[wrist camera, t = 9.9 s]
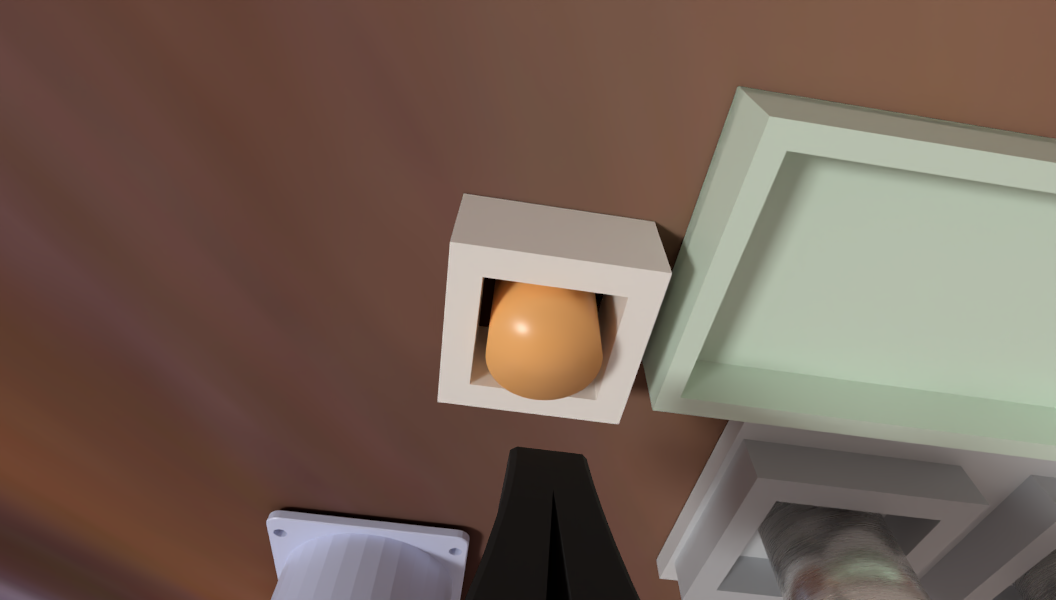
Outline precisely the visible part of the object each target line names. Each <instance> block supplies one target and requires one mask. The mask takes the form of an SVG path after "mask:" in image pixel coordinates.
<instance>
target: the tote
mask: <svg viewBox="0 0 1056 600" xmlns="http://www.w3.org/2000/svg"><path fill="white" fill-rule="evenodd" d="M642 362H643V367H644V371H645V376H646V381H647V386H648V390H649V395H650V400H651V405H652V409H653V410H655V411H662V412H670V413H678V414H686V415H694V416H702V417H710V418H718V419H726V420H734V421H742V422H750V423H757V424H765V425H773V426H781V427H789V428H797V429H805V430H813V431H821V432H829V433H837V434H844V435H852V436H860V437H868V438H876V439H884V440H892V441H900V442H908V443H916V444H924V445H932V446H939V447H947V448H955V449H963V450H971V451H979V452H987V453H995V454H1003V455H1011V456H1019V457H1026V458H1034V459H1042V460H1050V461H1056V139H1054V138H1048V137H1042V136H1036V135H1030V134H1024V133H1018V132H1012V131H1006V130H1000V129H994V128H988V127H982V126H976V125H970V124H964V123H958V122H952V121H946V120H940V119H934V118H928V117H922V116H916V115H910V114H904V113H897V112H891V111H885V110H879V109H873V108H867V107H861V106H855V105H849V104H843V103H837V102H831V101H825V100H819V99H813V98H807V97H801V96H795V95H789V94H783V93H777V92H771V91H765V90H759V89H753V88H747V87H741V86H738V87H737V90H736V93H735V96H734V99H733V101H732V104H731V107H730V110H729V113H728V116H727V118H726V121H725V124H724V127H723V130H722V132H721V135H720V138H719V141H718V144H717V147H716V149H715V152H714V155H713V158H712V161H711V164H710V166H709V169H708V172H707V175H706V178H705V180H704V183H703V186H702V189H701V192H700V195H699V197H698V200H697V203H696V206H695V209H694V211H693V214H692V217H691V220H690V223H689V226H688V228H687V231H686V234H685V237H684V240H683V243H682V245H681V248H680V251H679V254H678V257H677V259H676V262H675V265H674V268H673V271H672V275H671V278H670V281H669V284H668V287H667V290H666V292H665V295H664V298H663V301H662V304H661V306H660V309H659V312H658V315H657V318H656V320H655V323H654V326H653V329H652V332H651V335H650V337H649V340H648V343H647V346H646V349H645V351H644V354H643V357H642Z"/></svg>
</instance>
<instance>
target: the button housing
mask: <svg viewBox="0 0 1056 600" xmlns="http://www.w3.org/2000/svg"><path fill="white" fill-rule="evenodd" d="M671 275H672V271H671V268H670V265H669V263H668V260H667V257H666V254H665V251H664V248H663V245H662V242H661V239H660V236H659V233H658V230H657V227H656V224H655V222H653V221H646V220H639V219H632V218H626V217H619V216H612V215H605V214H599V213H592V212H585V211H578V210H572V209H565V208H558V207H552V206H545V205H538V204H531V203H525V202H518V201H511V200H504V199H498V198H491V197H484V196H478V195H471V194H463V198H462V201H461V205H460V208H459V212H458V216H457V219H456V223H455V226H454V230H453V233H452V237H451V240H450V249H449V262H448V274H447V287H446V300H445V313H444V325H443V338H442V351H441V363H440V376H439V389H438V402H443V403H451V404H459V405H467V406H475V407H483V408H491V409H499V410H507V411H515V412H524V413H532V414H540V415H548V416H556V417H564V418H572V419H580V420H588V421H596V422H604V423H612V424H619V422H620V419H621V416H622V413H623V411H624V408H625V405H626V402H627V399H628V396H629V394H630V391H631V388H632V385H633V382H634V380H635V377H636V374H637V371H638V368H639V365H640V363H641V360H642V357H643V354H644V351H645V349H646V346H647V343H648V340H649V337H650V335H651V332H652V329H653V326H654V323H655V320H656V318H657V315H658V312H659V309H660V306H661V304H662V301H663V298H664V295H665V292H666V290H667V287H668V284H669V281H670V278H671ZM485 277H486V278H493V279H500V280H507V281H515V282H522V283H529V284H536V285H543V286H551V287H558V288H565V289H572V290H579V291H586V292H594V293H601V294H603V297H602V301H601V304H600V308H599V312H598V320H599V328H600V336H601V344H602V352H603V361H602V365H601V368H600V371H599V373H598V374H597V376H596V378H595V379H594V380H593V381H592V382H591V383H590V384H589V385H588V386H587V387H586V388H584V389H583V390H581V391H579V392H578V393H576V394H573V395H571V396H568V397H565V398H561V399H556V400H534V399H528V398H524V397H521V396H518V395H516V394H513V393H511V392H509V391H508V390H506V389H505V388H503V387H502V386H501V385H500V384H498V383H497V381H496V380H495V379H494V378H493V377H492V375H491V374H490V372H489V369H488V367H487V364H486V346H487V338H488V331H489V327H484V326H479V321H480V313H481V305H482V297H483V289H484V281H485Z"/></svg>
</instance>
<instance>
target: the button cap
mask: <svg viewBox="0 0 1056 600" xmlns="http://www.w3.org/2000/svg"><path fill="white" fill-rule="evenodd" d="M602 361H603V352H602V344H601V336H600V328H599V320H598V312H597V304H596V297H595V293H594V292H586V291H579V290H572V289H565V288H558V287H551V286H543V285H536V284H529V283H522V282H515V281H507V280H500V279H496V280H495V286H494V294H493V301H492V309H491V316H490V324H489V331H488V338H487V346H486V364H487V367H488V369H489V372H490V374H491V375H492V377H493V378H494V379H495V380H496V381H497V383H498V384H500V385H501V386H502V387H503V388H505V389H506V390H508V391H509V392H511V393H513V394H516V395H518V396H521V397H524V398H528V399H534V400H556V399H561V398H565V397H568V396H571V395H573V394H576V393H578V392H579V391H581V390H583V389H584V388H586V387H587V386H588V385H589V384H590V383H591V382H592V381H593V380H594V379H595V378H596V376H597V374H598V373H599V371H600V368H601V365H602Z"/></svg>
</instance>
